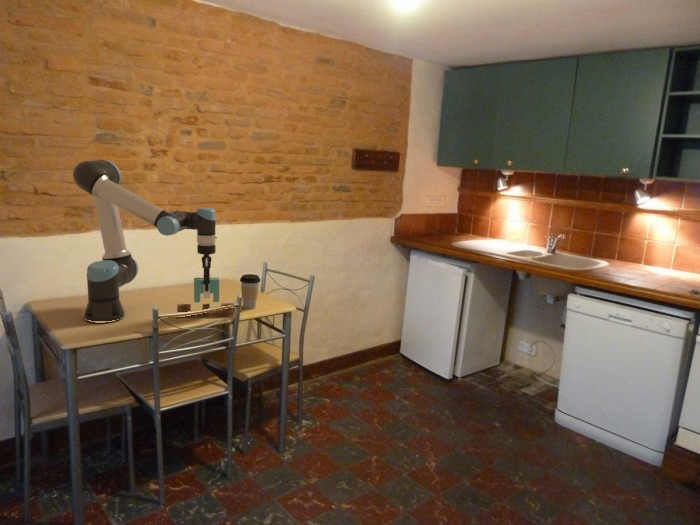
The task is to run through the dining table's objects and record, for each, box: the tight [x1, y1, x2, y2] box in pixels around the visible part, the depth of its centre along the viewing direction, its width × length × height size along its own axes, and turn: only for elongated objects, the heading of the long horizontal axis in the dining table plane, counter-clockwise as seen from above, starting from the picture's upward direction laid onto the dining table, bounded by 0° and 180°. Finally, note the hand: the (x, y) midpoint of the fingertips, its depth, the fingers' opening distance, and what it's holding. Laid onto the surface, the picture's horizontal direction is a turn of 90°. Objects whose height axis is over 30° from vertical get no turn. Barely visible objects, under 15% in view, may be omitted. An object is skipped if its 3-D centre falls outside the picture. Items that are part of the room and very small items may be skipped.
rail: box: [176, 302, 235, 319], centre depth 225 cm, size 24×6×5 cm, turn 106°
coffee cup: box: [239, 273, 261, 310], centre depth 239 cm, size 9×9×15 cm
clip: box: [193, 277, 220, 303], centre depth 223 cm, size 10×4×10 cm, turn 106°
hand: (206, 296), depth 223 cm, fingers closed on clip, 4 cm apart
